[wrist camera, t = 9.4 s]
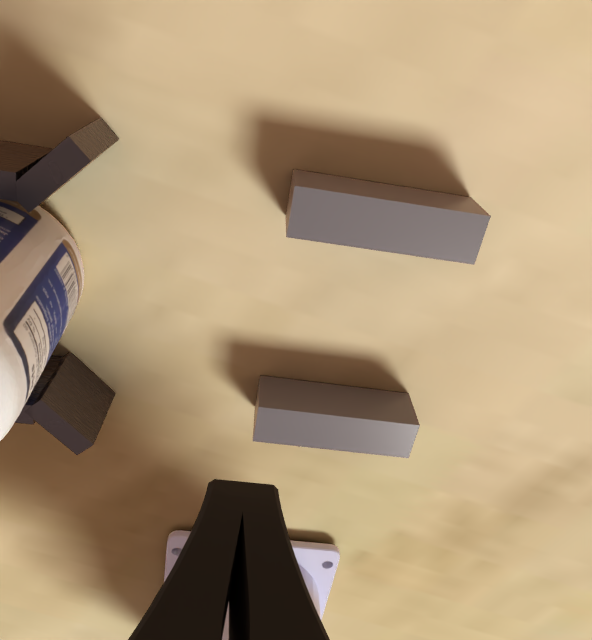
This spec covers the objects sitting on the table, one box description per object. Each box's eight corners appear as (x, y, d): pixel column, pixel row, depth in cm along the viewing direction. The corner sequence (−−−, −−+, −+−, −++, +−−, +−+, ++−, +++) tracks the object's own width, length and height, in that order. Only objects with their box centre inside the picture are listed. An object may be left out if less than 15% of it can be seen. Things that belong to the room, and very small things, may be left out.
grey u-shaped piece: (398, 424, 23) (408, 458, 22) (254, 407, 23) (252, 440, 21) (470, 197, 19) (490, 216, 17) (293, 168, 18) (294, 185, 16)
